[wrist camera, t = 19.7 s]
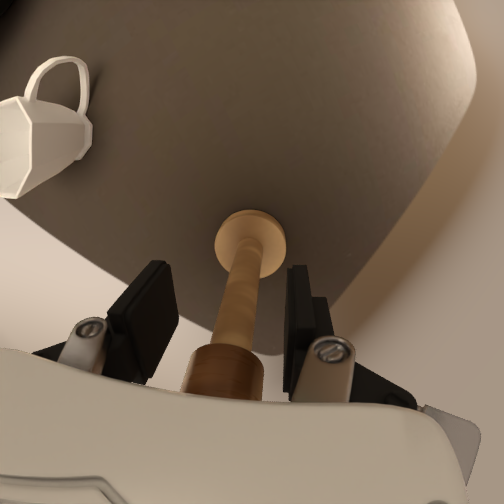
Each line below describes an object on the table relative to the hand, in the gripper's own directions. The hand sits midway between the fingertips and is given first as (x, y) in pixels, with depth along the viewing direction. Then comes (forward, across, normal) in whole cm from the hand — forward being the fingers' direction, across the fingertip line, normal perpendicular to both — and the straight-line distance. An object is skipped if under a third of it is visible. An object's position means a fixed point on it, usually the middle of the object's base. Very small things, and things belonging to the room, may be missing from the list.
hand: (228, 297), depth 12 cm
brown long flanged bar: (+10, 0, +2) cm, 10 cm away
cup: (+10, +14, -9) cm, 20 cm away
